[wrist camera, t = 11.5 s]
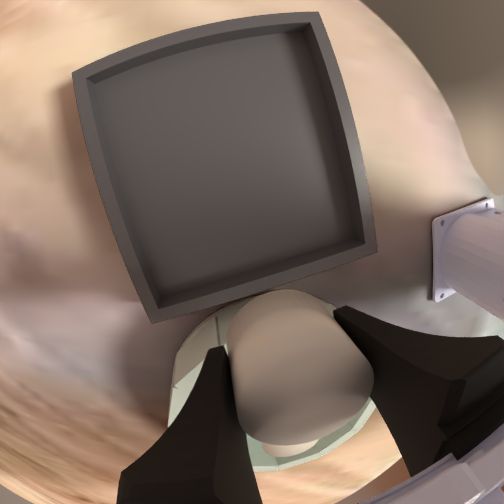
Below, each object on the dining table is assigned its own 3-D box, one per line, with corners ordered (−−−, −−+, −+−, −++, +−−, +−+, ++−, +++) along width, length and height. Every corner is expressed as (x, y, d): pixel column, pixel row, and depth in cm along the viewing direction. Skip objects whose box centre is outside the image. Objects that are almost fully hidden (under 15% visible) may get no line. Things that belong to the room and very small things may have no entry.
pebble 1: (323, 275, 11) (373, 325, 8) (334, 359, 13) (372, 417, 9) (212, 308, 11) (217, 376, 7) (242, 389, 12) (256, 457, 9)
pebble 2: (302, 381, 22) (318, 415, 18) (309, 413, 23) (323, 445, 19) (247, 397, 21) (256, 435, 17) (260, 428, 23) (269, 462, 19)
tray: (305, 26, 15) (318, 11, 12) (359, 241, 20) (377, 252, 17) (86, 82, 14) (71, 72, 11) (157, 305, 19) (151, 323, 16)
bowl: (349, 263, 20) (382, 288, 16) (361, 401, 25) (380, 431, 21) (139, 329, 19) (127, 368, 15) (212, 448, 24) (216, 484, 20)
